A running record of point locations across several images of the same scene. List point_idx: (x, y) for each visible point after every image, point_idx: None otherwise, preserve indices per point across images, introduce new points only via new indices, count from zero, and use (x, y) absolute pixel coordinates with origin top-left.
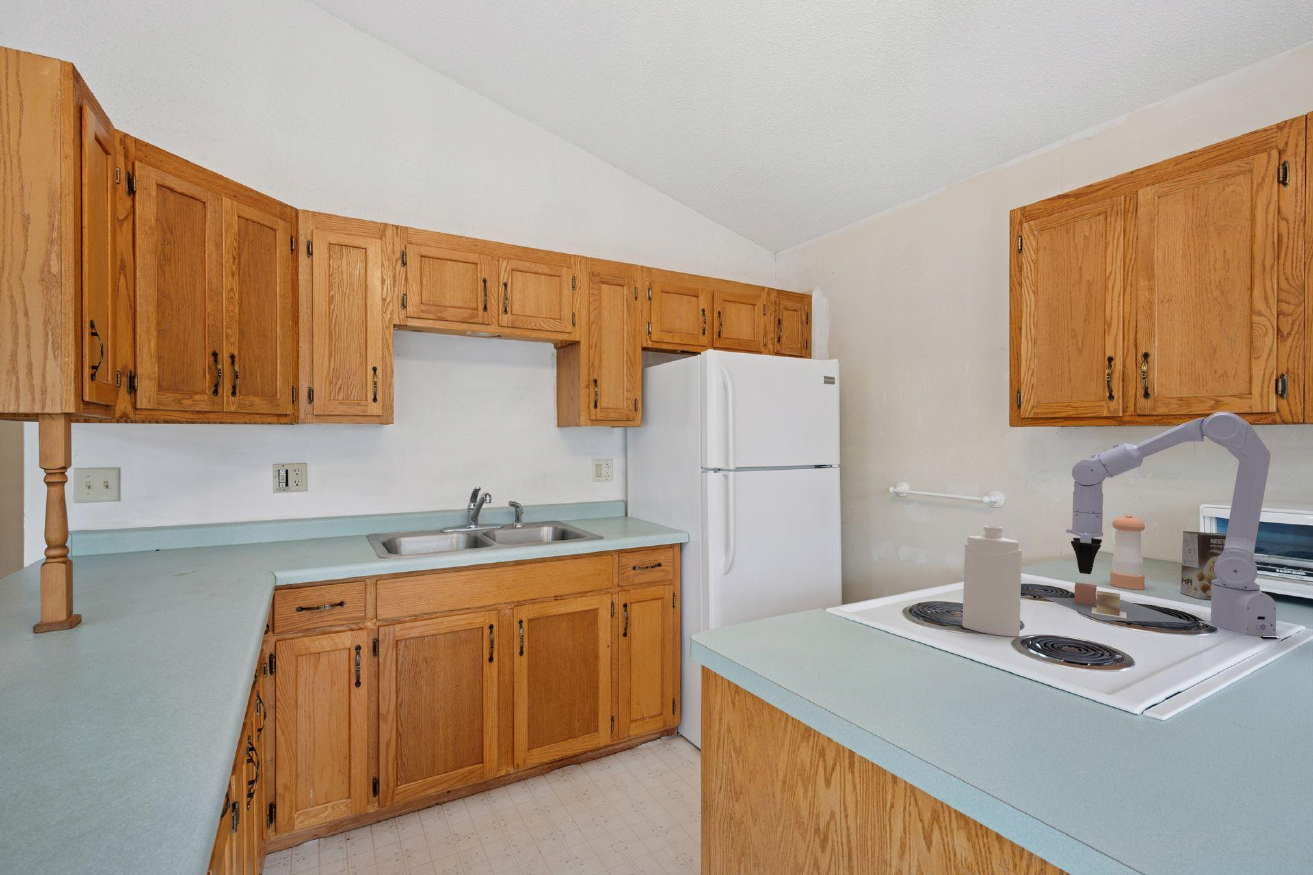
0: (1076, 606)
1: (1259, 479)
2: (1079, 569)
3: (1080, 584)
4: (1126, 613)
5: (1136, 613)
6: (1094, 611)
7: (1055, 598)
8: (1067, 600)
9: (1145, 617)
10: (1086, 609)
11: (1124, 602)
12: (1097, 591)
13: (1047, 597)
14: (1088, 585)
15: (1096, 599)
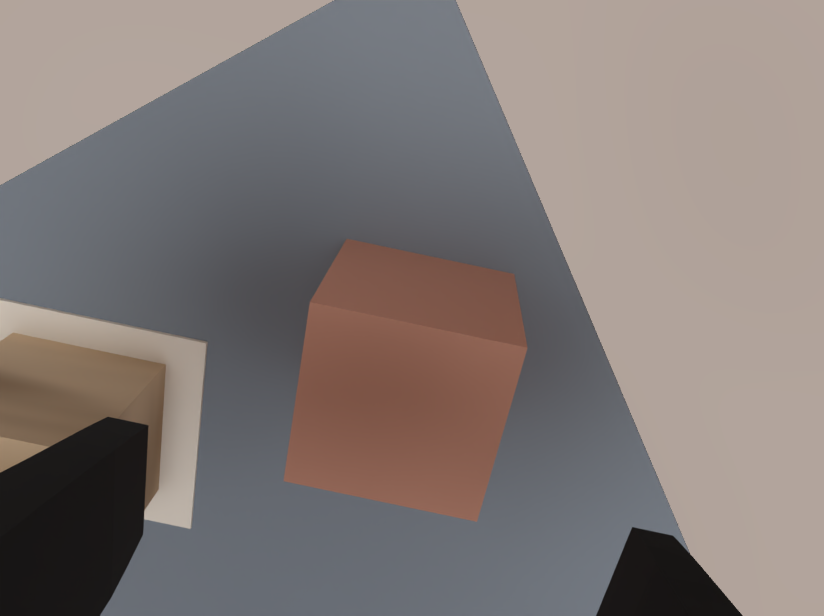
0: (168, 224)
1: None
2: (64, 442)
3: (407, 372)
4: (173, 524)
5: (224, 581)
6: (44, 326)
7: (449, 87)
8: (411, 192)
9: (127, 597)
10: (101, 283)
11: None
12: (45, 447)
13: (451, 4)
14: (393, 441)
15: (622, 448)
